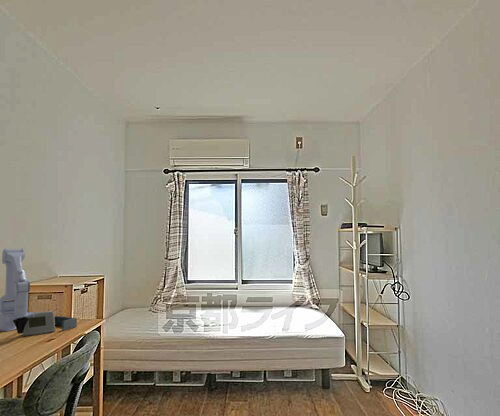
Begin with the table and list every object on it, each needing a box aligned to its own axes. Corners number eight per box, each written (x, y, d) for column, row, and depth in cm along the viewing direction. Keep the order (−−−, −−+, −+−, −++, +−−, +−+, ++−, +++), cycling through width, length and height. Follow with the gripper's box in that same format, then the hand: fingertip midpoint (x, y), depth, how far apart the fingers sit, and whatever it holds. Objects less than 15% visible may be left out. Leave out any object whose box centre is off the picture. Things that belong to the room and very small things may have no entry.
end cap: (43, 328, 234) (44, 318, 234) (57, 324, 243) (57, 315, 243) (63, 330, 229) (64, 321, 229) (76, 327, 237) (76, 318, 237)
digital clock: (21, 337, 214) (22, 315, 215) (19, 333, 222) (20, 312, 222) (56, 333, 223) (57, 312, 224) (53, 329, 231) (54, 310, 231)
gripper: (14, 308, 205) (12, 337, 204) (39, 304, 218) (38, 330, 217) (3, 307, 207) (2, 335, 207) (29, 303, 221) (28, 329, 220)
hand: (20, 333), depth 212 cm, fingers closed
